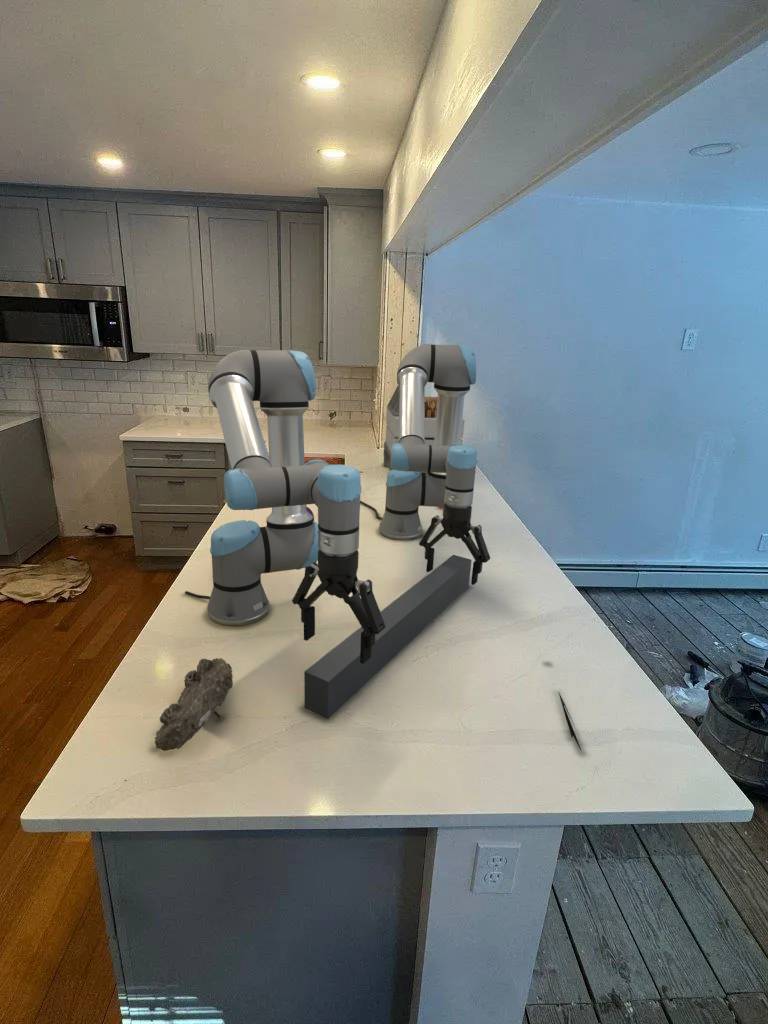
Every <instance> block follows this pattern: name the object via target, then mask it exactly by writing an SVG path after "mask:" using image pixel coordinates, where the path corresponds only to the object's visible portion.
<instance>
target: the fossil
mask: <svg viewBox="0 0 768 1024" xmlns="http://www.w3.org/2000/svg"><path fill="white" fill-rule="evenodd" d="M183 682H184V689H182V692H180V695H179V697H178V699H177V703H170V705H169V706H168V707H166V708H165V709H164V710H163V712H162V713H161V714H160V716H159V721H160V723H161V724H162V725H161V726H160V728H159V730H157V731H156V733H155V737H154V744H155V748H156V749H160V750H161V751H162V752H167V751H173V750H180V749H182V747H184V746H185V744H186V743H188V741H190V740H191V739H192V738H193V737H194V736H195V735H196V734H197V733H198V732H199V731H200V730H201V729H202V728H203V727H205V725H206V724H207V722H208V720H209V719H210V718H212V716H213V715H215V716H216V717H217V718H218V719H221V717H222V715H221V714H220V713H219V712H218V711H217V708H218V707H221V706H222V705H223V704H224V703H225V701H226V698H227V696H228V694H229V693H230V690H231V689H232V688H233V686H234V682H233V668H232V666H231V665H230V664H229V663H227V661H226V660H224V659H223V658H221V657H220V658H217V657H215V658H213V659H207V658H201V659H199V661H198V664H197V665H196V669H194V670H190V671H187V673H186V674H185V676H184V680H183Z"/></svg>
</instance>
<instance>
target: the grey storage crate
mask: <svg viewBox="0 0 768 1024" xmlns="http://www.w3.org/2000/svg"><path fill="white" fill-rule="evenodd" d="M399 399H400V386H399V385H398V384H397V386H396V388H395V390H394V392H393V394H392V395H391V398H390V400H389V402H388V404H387V405H386V413H385V414H386V415H385V423H386V428H385V438H384V442H383V466H384V467H388V468H389V472H390V471H391V470H393V469H392V468H391V448H392V445H393V444H397V443H398V433H399ZM437 401H438V396H425V445H434V439H435V426H436V413H437ZM464 429H465V419H464V418H462V427H461V437H460V445H463V442H464V441H463V440H462V439H463V438H464V431H465V430H464Z"/></svg>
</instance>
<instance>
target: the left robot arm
mask: <svg viewBox="0 0 768 1024" xmlns="http://www.w3.org/2000/svg"><path fill="white" fill-rule="evenodd" d="M316 381H317V379H316V373H315V370H314V366H313V363H312V361H311V359H310V357H309V356H308V354H307V353H305V352H303V351H299V350H292V349H291V350H289V349H257V350H256V349H239V350H236V351H233V352H231V353H228V354H227V355H225V356H224V357H223V358H222V359H220V360H219V361H218V363H216V365H215V366H214V367H213V368H212V371H211V373H210V376H209V378H208V383H207V391H208V397H209V400H210V402H211V404H212V406H213V407H214V408H215V409H216V410H217V414H218V418H219V423H220V426H221V431H222V435H223V439H224V440H223V441H224V444H225V448H226V451H227V456H228V461H229V465H230V469H229V470H226V471H225V473H224V475H223V488H224V489H223V490H224V496H225V502H226V505H227V508H229V509H230V510H233V511H255V510H260V509H261V510H263V509H271V513H270V514H269V515H268V516H267V517H266V519H265V522H266V525H265V526H260V525H259V524H258V523H257V522H256V521H254V520H246V519H242V520H234V521H230V522H227V523H225V524H222V525H220V526H219V527H217V528H215V530H213V532H212V534H211V535H210V549H209V551H210V554H211V569H212V570H211V571H212V584H213V586H212V590H211V593H210V595H202V594H197V593H193V592H191V591H187V590H185V591H184V594H185V595H187V596H189V597H193V598H197V599H203V600H208V603H207V608H206V609H207V612H206V613H207V617H208V619H209V620H210V621H211V622H212V623H214V624H216V625H219V626H222V627H230V628H237V627H239V628H240V627H246V626H251V625H253V624H256V623H258V622H260V621H262V620H263V619H265V618H266V617H267V615H268V614H269V613H270V612H269V611H270V602H269V599H268V596H267V594H266V591H265V589H264V587H263V584H262V574H269V573H279V572H285V571H286V572H287V571H293V570H296V571H300V570H301V569H304V576H303V578H302V579H301V582H300V584H299V586H298V588H297V590H296V592H295V594H294V596H293V598H292V604H294V605H297V606H298V607H299V609H300V620H301V623H302V624H303V641H306V642H307V641H308V640H310V639H312V638H313V637H314V636H316V606H314V605H313V604H314V603H315V602H316V601H317V600H318V599H319V598H320V597H321V596H322V595H323V594H325V592H327V595H330V596H335V597H336V598H338V599H342V600H343V601H344V603H345V604H346V605H348V606H349V608H350V610H351V611H352V613H353V615H354V616H355V619H357V621H358V624H360V627H362V628H363V630H364V631H363V632H361V648H360V663H362V664H364V663H365V662H366V661H367V660H368V659H369V658H371V647H373V646H374V644H375V634H379V633H380V632H381V631H382V630H383V629H385V623H384V621H383V618H382V615H381V613H380V612H381V610H380V607H379V604H378V602H377V599H376V597H375V594H374V592H373V591H374V590H373V582H372V580H371V579H370V578H369V579H367V580H365V581H364V580H360V579H359V578H358V575H357V573H358V569H359V548H360V516H361V515H360V513H361V503H360V501H361V494H362V485H361V483H362V482H361V473H360V471H359V469H358V468H356V467H354V466H350V465H347V464H339V463H337V464H331V463H329V462H327V461H325V460H323V459H318V458H317V459H311V460H309V461H307V462H306V461H305V459H306V458H305V438H304V437H305V436H304V434H305V433H304V414H305V413H306V412H307V411H308V409H309V408H310V405H309V402H311V401H313V400H314V399H315V398H316V394H317V391H316V390H317V382H316ZM253 402H259V409H260V410H261V412H263V413H264V414H265V415H266V420H267V423H266V424H267V439H268V448H267V445H266V441H265V439H264V436H263V432H262V428H261V426H260V423H259V419H258V416H257V413H256V409H255V405H254V404H253ZM305 462H306V463H305ZM306 505H315V506H316V507H317V522H316V521H315V520H314V521H313V516H312V515H311V514H310V513H309V512H307V510H306V507H307V506H306ZM317 577H318V579H319V581H320V582H321V583H319V585H318V586H317V587H316V588H315V589H314V591H312V592H311V593H310V594H309V595H308V593H309V591H310V589H311V587H312V585H313V583H314V581H315V579H316V578H317ZM350 594H351V596H350ZM307 595H308V596H307Z"/></svg>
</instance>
